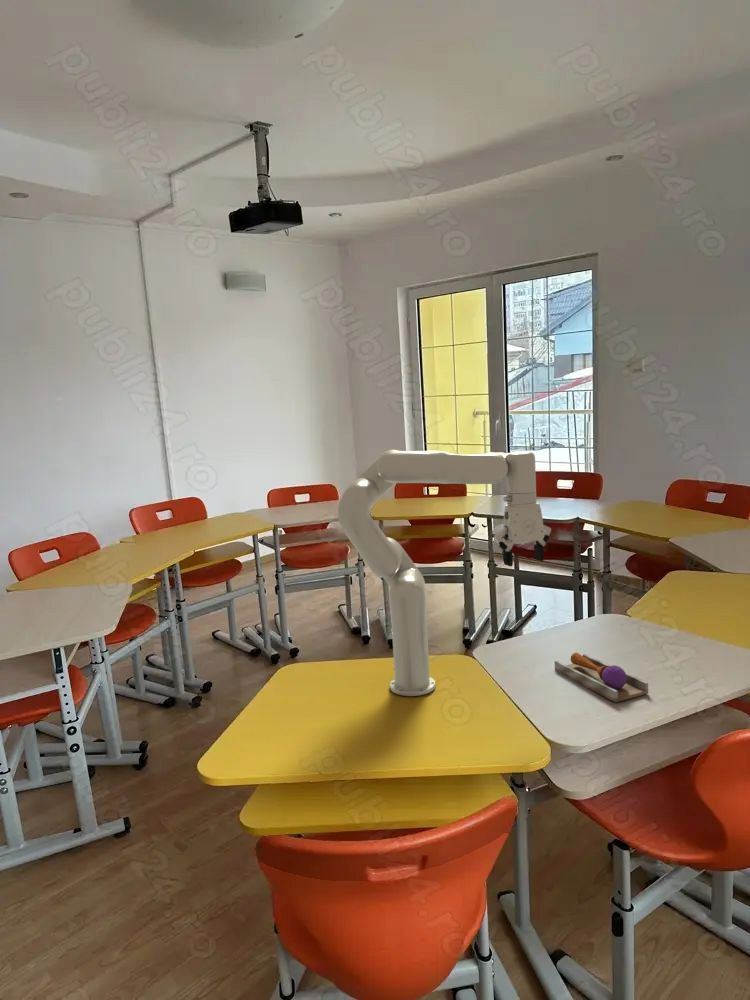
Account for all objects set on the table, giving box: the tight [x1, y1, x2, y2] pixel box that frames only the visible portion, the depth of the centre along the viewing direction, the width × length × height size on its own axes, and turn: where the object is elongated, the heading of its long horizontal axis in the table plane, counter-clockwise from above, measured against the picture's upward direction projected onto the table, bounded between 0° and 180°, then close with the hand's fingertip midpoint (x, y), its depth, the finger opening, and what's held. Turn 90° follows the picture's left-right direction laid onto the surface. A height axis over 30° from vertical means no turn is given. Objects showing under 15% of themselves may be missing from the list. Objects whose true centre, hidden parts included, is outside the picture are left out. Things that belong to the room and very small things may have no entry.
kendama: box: [570, 652, 627, 689], centre depth 179 cm, size 6×6×20 cm
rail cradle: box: [554, 653, 649, 703], centre depth 179 cm, size 24×11×3 cm, turn 22°
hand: (523, 562), depth 177 cm, fingers open, 9 cm apart
